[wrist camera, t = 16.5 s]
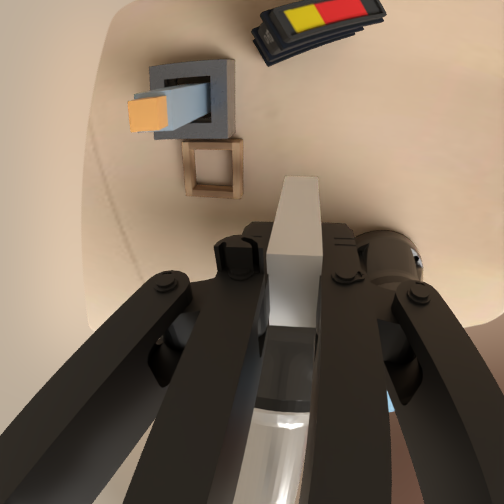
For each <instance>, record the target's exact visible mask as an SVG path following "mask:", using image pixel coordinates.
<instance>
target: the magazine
mask: <svg viewBox="0 0 504 504" xmlns="http://www.w3.org/2000/svg"><path fill="white" fill-rule="evenodd" d="M385 16H386V12H385V10H384V8H383V6H382V4H381V3H380V1H379V0H303V1H299V2H295V3H291V4H287V5H284V6H280V7H277V8H274V9H271V10H267V11H264V12H262V13H261V14H260V17H261V18H262V20H263V23H262V24H261V25H260V26H259V27H256V28H254V29H252V31H251V33H252V34H253V36H254V38H255V39H254V40H253V42H254V44H255V46H256V47H257V49H258V51H259V52H260V54H261V56H262V58H263V59H264V61H265V63H266V65H267V66H268V67H269V66H272V65H274V64H276V63H279V62H281V61H283V60H286V59H288V58H291V57H293V56H296V55H298V54H301V53H303V52H306V51H309V50H311V49H314V48H317V47H319V46H322V45H325V44H328V43H331V42H334V41H337V40H340V39H343V38H346V37H350V36H353V35H355V32H358V31H362V30H364V28H363V26H367V25H372V24H377V23H381V22H383V21H384V20H383V18H382V17H385Z"/></svg>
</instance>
